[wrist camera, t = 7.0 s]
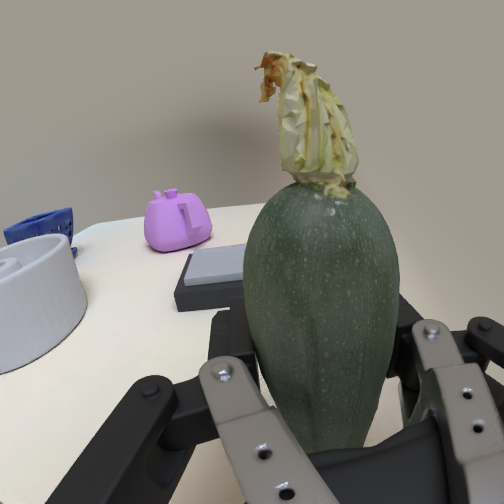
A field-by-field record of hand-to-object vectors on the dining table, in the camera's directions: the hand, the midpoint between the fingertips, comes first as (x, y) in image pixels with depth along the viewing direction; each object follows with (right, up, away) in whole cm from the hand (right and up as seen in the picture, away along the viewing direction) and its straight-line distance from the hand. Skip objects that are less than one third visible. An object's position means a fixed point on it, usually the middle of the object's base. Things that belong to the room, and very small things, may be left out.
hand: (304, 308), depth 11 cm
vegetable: (+1, -11, +1) cm, 12 cm away
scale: (-4, -2, +28) cm, 29 cm away
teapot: (-17, +4, +49) cm, 52 cm away
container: (-36, -9, +21) cm, 43 cm away
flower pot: (-48, -1, +44) cm, 65 cm away
